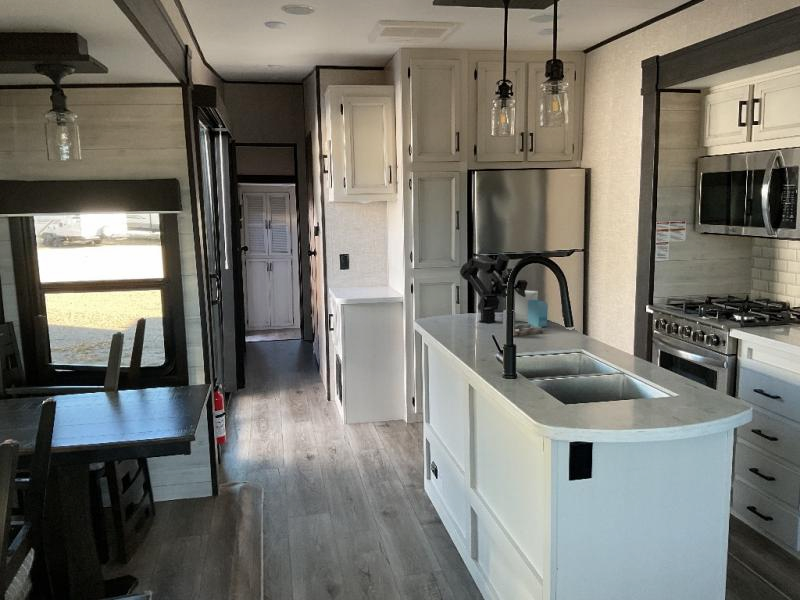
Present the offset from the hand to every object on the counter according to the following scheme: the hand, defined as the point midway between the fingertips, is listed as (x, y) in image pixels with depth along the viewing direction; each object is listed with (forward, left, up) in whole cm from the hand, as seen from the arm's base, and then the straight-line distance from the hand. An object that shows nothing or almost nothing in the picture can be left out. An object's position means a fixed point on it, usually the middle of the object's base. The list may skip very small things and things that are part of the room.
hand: (516, 296), depth 307 cm
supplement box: (-15, +27, -16) cm, 35 cm away
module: (+4, -10, -16) cm, 20 cm away
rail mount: (+4, +1, -16) cm, 17 cm away
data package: (-3, +20, -16) cm, 26 cm away
